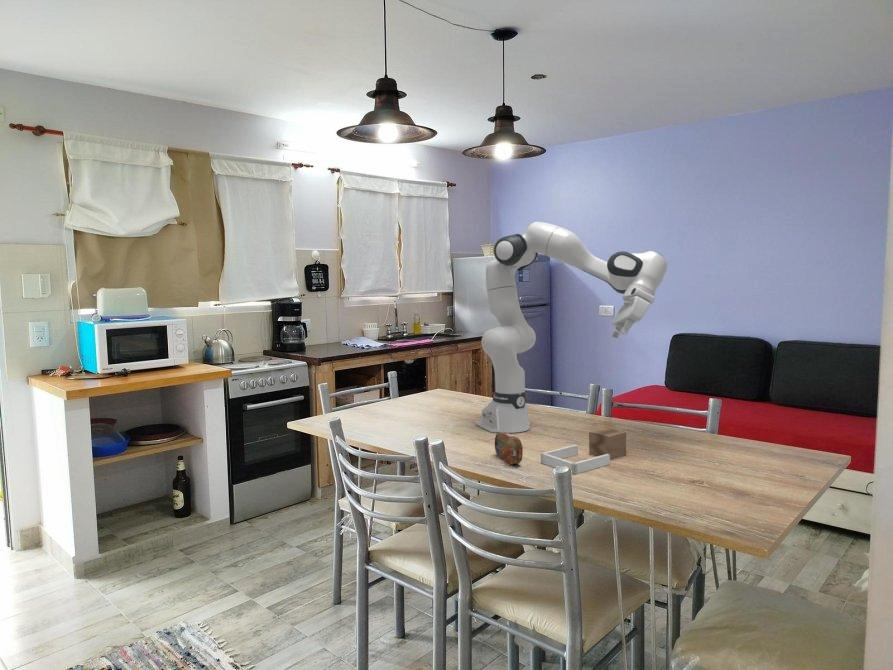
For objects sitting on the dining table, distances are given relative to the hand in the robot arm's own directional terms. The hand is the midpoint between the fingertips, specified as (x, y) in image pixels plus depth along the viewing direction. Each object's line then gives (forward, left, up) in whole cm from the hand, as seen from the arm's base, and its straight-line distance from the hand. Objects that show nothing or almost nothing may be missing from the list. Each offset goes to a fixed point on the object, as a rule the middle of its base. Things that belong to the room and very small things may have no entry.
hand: (618, 335), depth 193 cm
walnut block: (+2, -8, -37) cm, 38 cm away
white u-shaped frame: (+2, -22, -37) cm, 43 cm away
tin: (-13, -36, -37) cm, 53 cm away
